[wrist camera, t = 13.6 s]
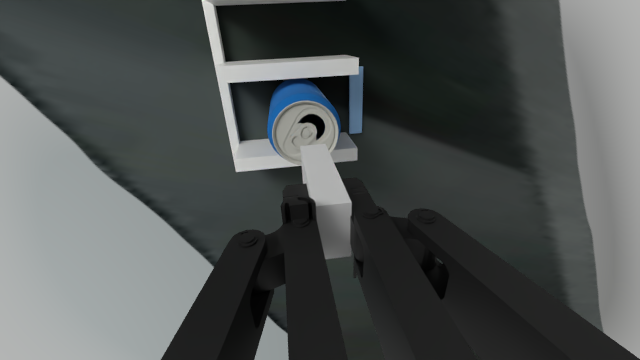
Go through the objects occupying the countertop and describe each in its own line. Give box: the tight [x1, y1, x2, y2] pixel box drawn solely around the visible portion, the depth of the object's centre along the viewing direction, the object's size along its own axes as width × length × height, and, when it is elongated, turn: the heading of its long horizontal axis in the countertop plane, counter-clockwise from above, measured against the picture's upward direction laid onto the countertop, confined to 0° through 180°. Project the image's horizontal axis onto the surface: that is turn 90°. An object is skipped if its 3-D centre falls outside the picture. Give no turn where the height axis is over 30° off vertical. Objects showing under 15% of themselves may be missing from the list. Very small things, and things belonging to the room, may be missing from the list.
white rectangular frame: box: [202, 0, 359, 172], centre depth 28 cm, size 28×14×6 cm, turn 3°
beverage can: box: [267, 78, 341, 165], centre depth 29 cm, size 6×6×12 cm
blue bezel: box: [349, 66, 363, 134], centre depth 35 cm, size 8×2×1 cm, turn 3°
